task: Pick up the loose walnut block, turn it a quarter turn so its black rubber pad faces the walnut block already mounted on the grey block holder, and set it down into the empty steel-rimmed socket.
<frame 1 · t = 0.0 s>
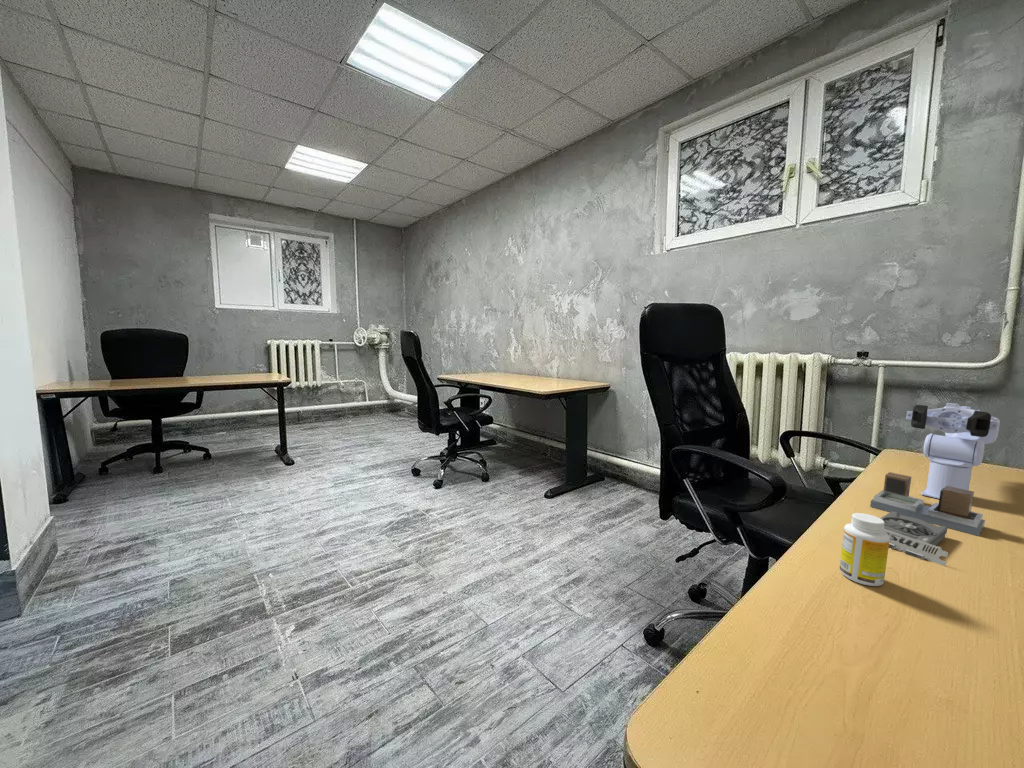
hand: (943, 420, 90), 22 cm above the table, tool horizontal, fingers open, 7 cm apart
supplement bottle: (860, 578, 66), on the table
graphics card: (911, 544, 79), on the table
grey block holder: (924, 516, 91), on the table
walnut block: (895, 498, 101), on the table
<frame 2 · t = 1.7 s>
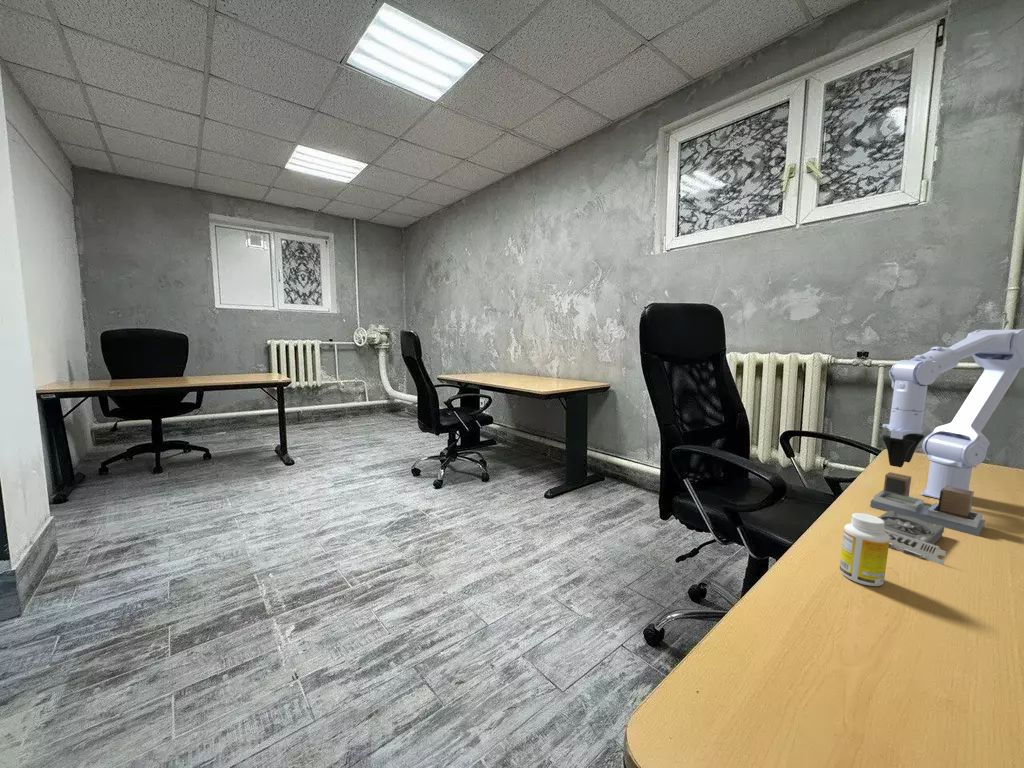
hand: (899, 463, 100), 9 cm above the table, tool pointing down, fingers open, 7 cm apart
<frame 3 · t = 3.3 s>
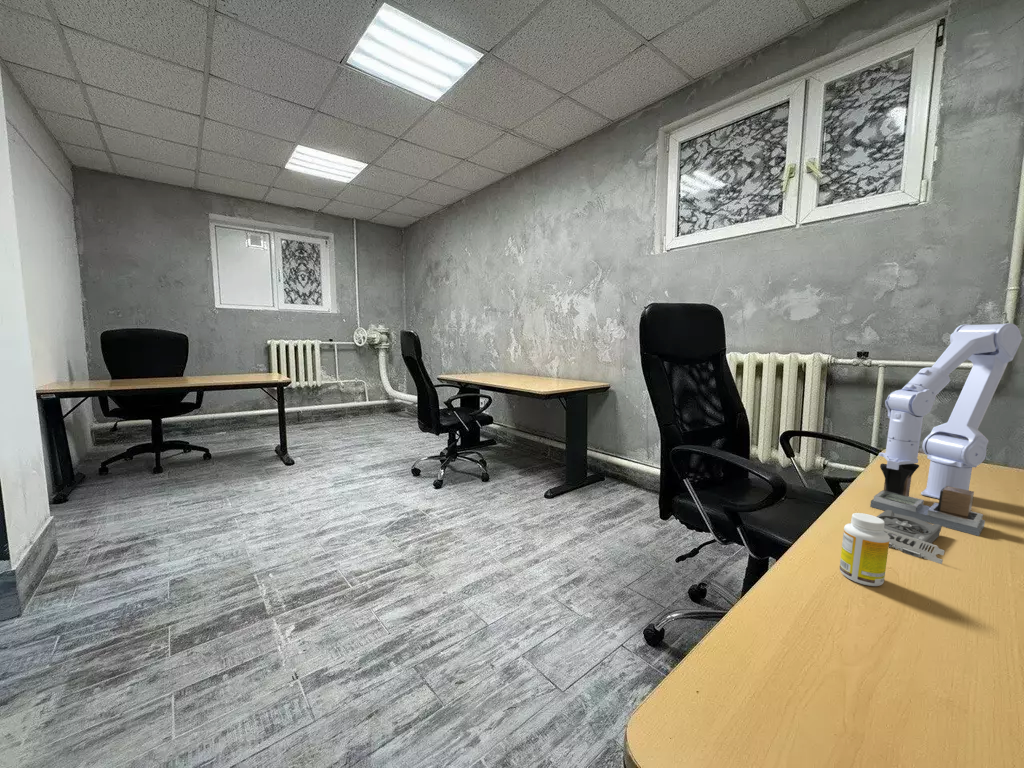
hand: (896, 492, 101), 2 cm above the table, tool pointing down, fingers closed on walnut block, 4 cm apart
walnut block: (895, 498, 101), on the table, touching gripper
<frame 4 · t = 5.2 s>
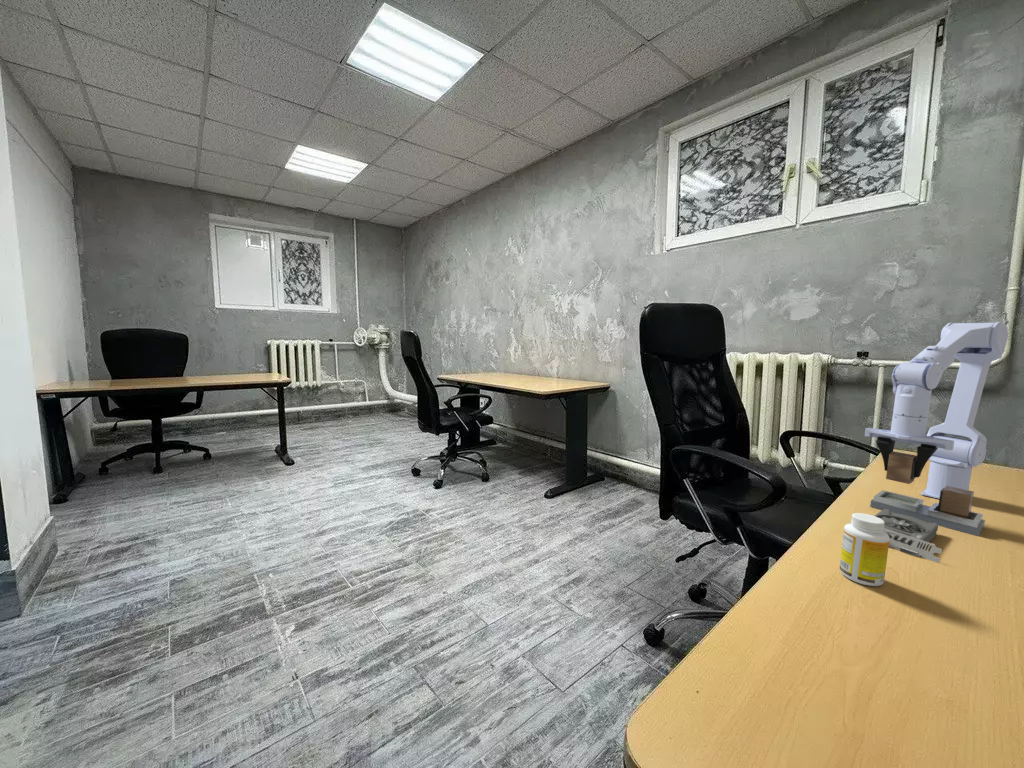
hand: (901, 473, 94), 9 cm above the table, tool pointing down, fingers closed on walnut block, 4 cm apart
walnut block: (899, 479, 94), point 7 cm above the table, touching gripper
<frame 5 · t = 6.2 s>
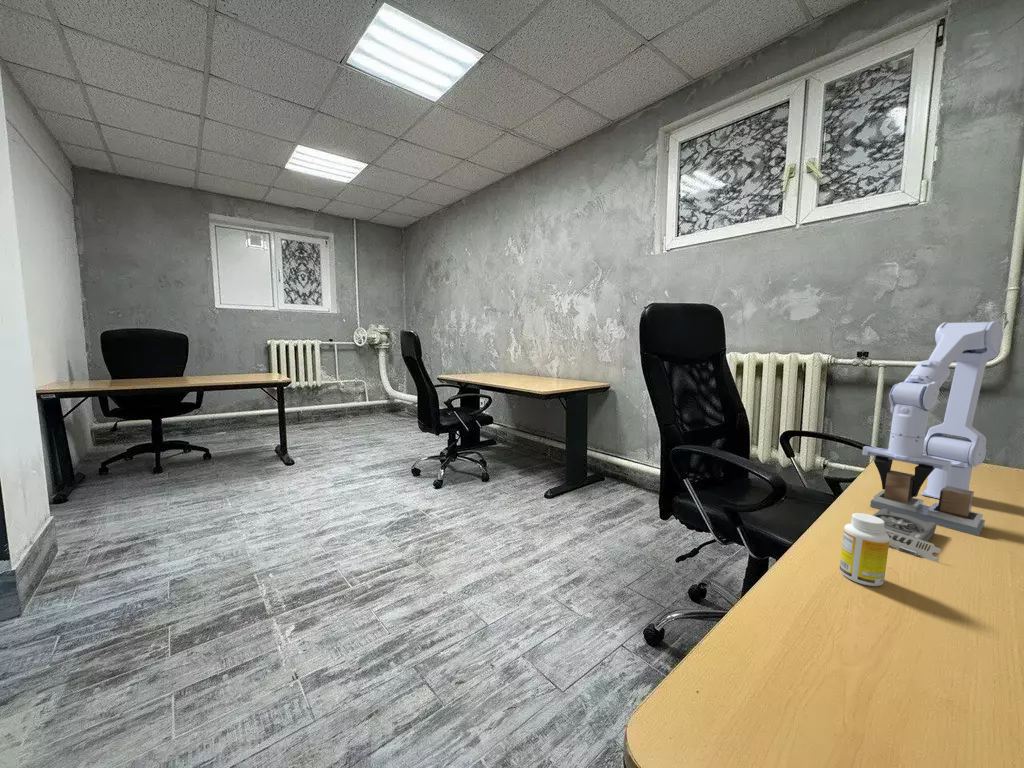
hand: (899, 492, 94), 4 cm above the table, tool pointing down, fingers closed on walnut block, 4 cm apart
walnut block: (897, 498, 95), point 2 cm above the table, touching gripper
when the fingers open (4 cm above the table, at t = 6.9 s): walnut block stays where it is, resting on grey block holder.
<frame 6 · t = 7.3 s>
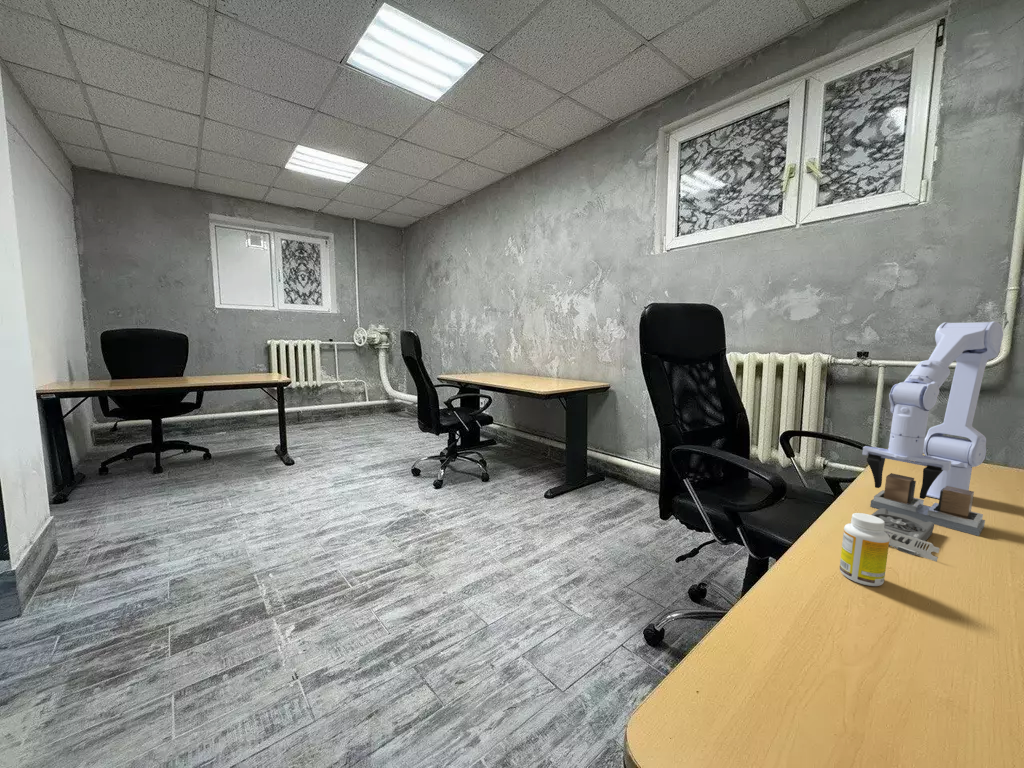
hand: (899, 492, 94), 4 cm above the table, tool pointing down, fingers open, 7 cm apart
walnut block: (896, 501, 95), point 2 cm above the table, touching grey block holder
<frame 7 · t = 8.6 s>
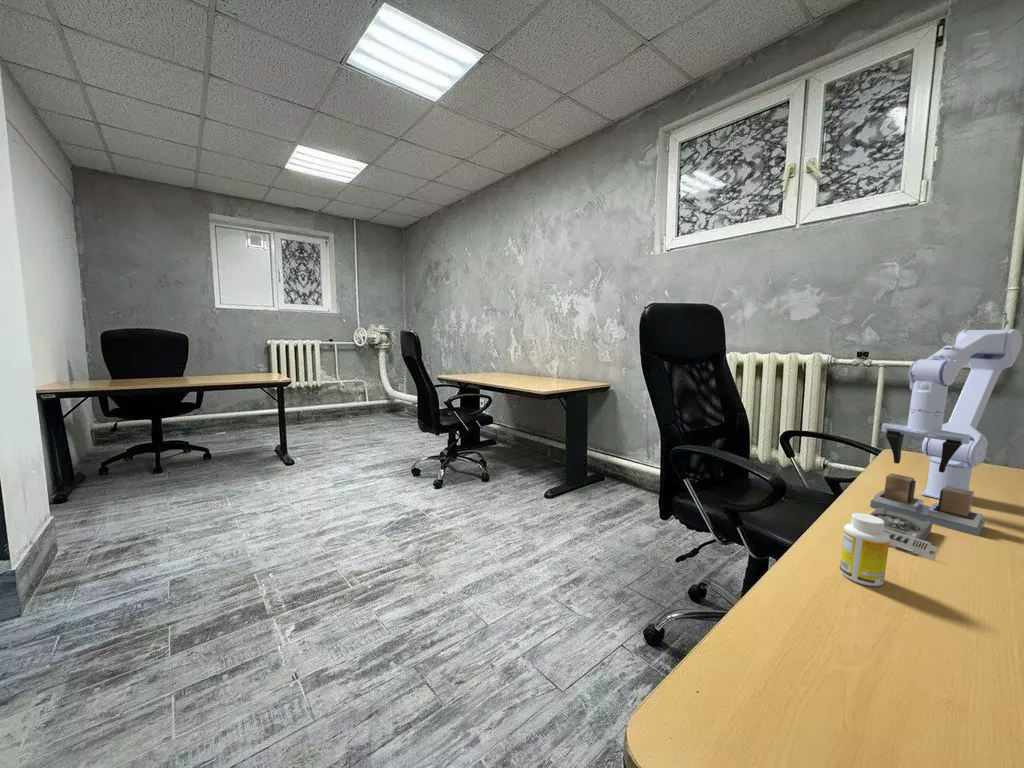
hand: (918, 467, 97), 9 cm above the table, tool pointing down, fingers open, 7 cm apart
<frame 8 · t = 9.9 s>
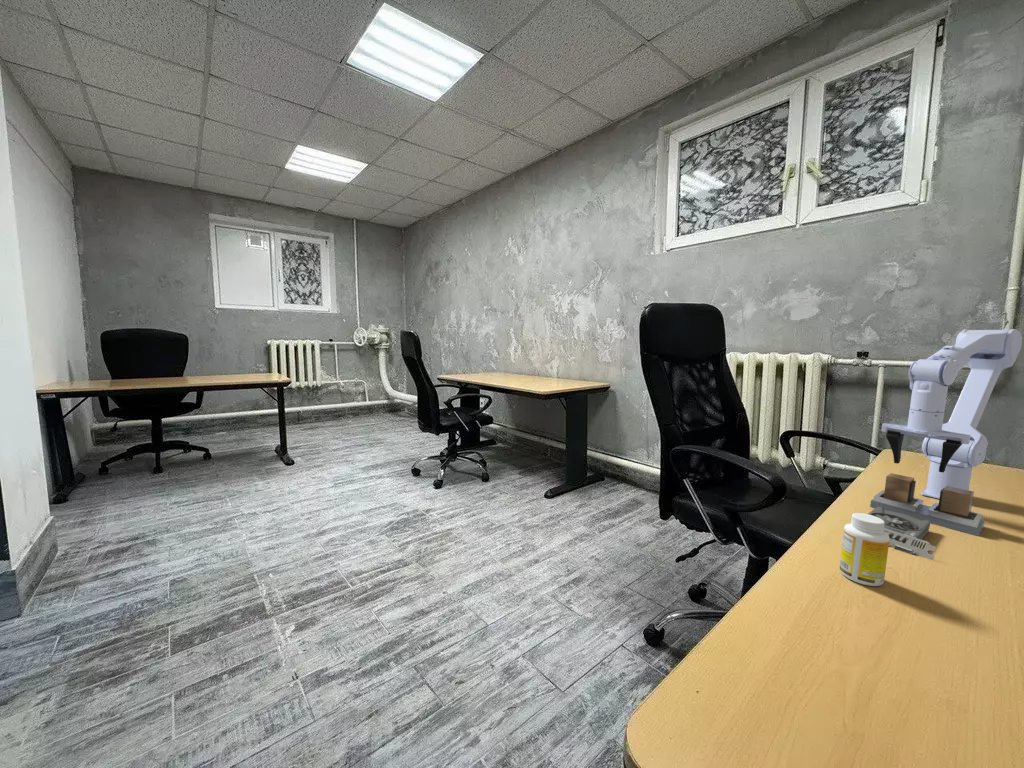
hand: (918, 466, 97), 9 cm above the table, tool pointing down, fingers open, 7 cm apart
at the end: walnut block 0.2 cm from the target spot on the grey block holder, point 1.7 cm above the grey block holder's base; walnut block tilted 0°; the gripper is holding nothing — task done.
